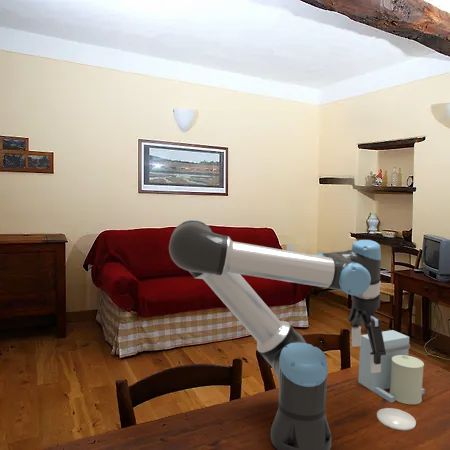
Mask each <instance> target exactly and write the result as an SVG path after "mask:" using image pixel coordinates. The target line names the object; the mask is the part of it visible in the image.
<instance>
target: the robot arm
mask: <svg viewBox="0 0 450 450" xmlns="http://www.w3.org/2000/svg"><path fill="white" fill-rule="evenodd" d="M168 252H169V256H170V258H171V260H172V261H173V263H174V264H175V265H176V266H177V267H178V268H180V269H183V270H185V271H188V272H189V273H190V274H191V276H192V277H193V278H194V279H198V280H203V281H204V282H205V284H207V285H208V287H209V288H210V289H211V290H212V292H214V294H215V295H216V296H217V297H218V298H219V300H221V302H222V303H223V304H224V305H225V306H226V308H227V309H228V310H229V311H230V313H232V314H233V315H234V316H235V318H236V319H237V320H238V321H239V322H240V324H241V325H242V326H243V327H244V328H245V330H247V331H248V333H249V335H251V336H252V337H253V338H254V340H255V341H256V342H257V344H256V350H257V351H258V352H259V353H260V355H261V356H262V357H263V358H264V360H265V361H266V362H267V363H268V364H269V365H270V366H271V368H272V370H273V371H274V374H275V376H276V379H277V381H278V409H277V412H276V414H275V416H274V419H273V422H272V425H271V428H270V441H271V443H272V445H273V447H274V448H275V449H276V450H331V448H332V432H331V430H330V426H329V422H328V419H327V415H326V407H327V405H326V403H327V388H328V387H327V385H328V374H329V373H328V372H329V369H328V359H327V355H326V354H325V352H324V351H322V350H321V349H320V348H319V347H317V346H314V345H312V344H310V343H307V341H306V340H305V338H304V337H303V336H302V335H301V334H300V333H298V331H296V330H295V328H294V327H293V326H292V325H291V324H290V322H288V321H285V320H284V321H282V320H280V319H279V318H278V317H277V315H276V314H275V313H274V312H273V311H272V310H271V308H270V307H269V306H268V305H267V303H265V302H264V301H263V299H262V298H261V297H260V295H258V293H257V292H256V291H255V290H254V289H253V288H252V286H251V285H250V284H249V282H248V281H246V279H245V278H244V277H243V276H249V277H256V278H263V279H270V280H275V281H276V280H277V281H282V282H287V283H294V284H300V285H306V286H307V285H308V286H314V287H320V288H326V289H332V290H337V291H341V292H343V293H345V294H347V295H350V296H351V297H352V299H351V301H352V303H351V304H352V305H351V309H350V312H349V316H348V322H349V323H350V326H351V347H352V348H355V347H360V346H361V335H362V324H363V328H364V330H366V332H367V334H368V337H369V341H370V345H371V348H372V352H371V353H370V354H371V367H370V372H371V373H378V372H381V355H386V351H385V346H384V341H383V335H382V332H383V331H382V321H381V318H379V317H378V318H377V317H376V313H375V312H376V311H377V310H378V309H379V308H380V306H381V299H380V298H381V296H380V294H381V285H382V282H381V265H382V264H381V263H382V262H381V260H382V253H381V252H382V251H381V245H380V244H379V243H378V242H376V241H374V240H372V239H359V240H356V241H354V242H353V243H352V246H351V249H348V250H344V251H343V250H342V251H341V250H340V251H334V252H332V251H331V252H321V253H318V254H309V253H304V252H299V251H291V250H287V249H279V248H274V247H269V246H268V247H267V246H264V245H258V244H252V243H245V242H239V241H233V240H232V238H231V237H230V236H228V235H224V234H219V233H215V232H213V231H212V229H211V227H210V226H208V224H206V223H205V222H202V221H201V220H197V219H194V220H193V219H192V220H191V219H190V220H186V221H184V222H182V223H180V224H178V225H177V226H176V227H175V228H174V229H173V231H172V233H171V236H170V240H169V244H168ZM242 275H243V276H242Z"/></svg>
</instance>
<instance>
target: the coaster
mask: <svg viewBox="0 0 450 450" xmlns="http://www.w3.org/2000/svg"><path fill="white" fill-rule="evenodd" d="M376 419H377V420H378V421H379V422H380V423H381V424H382V425H384V426H385V427H387V428H390V429H393V430H397V431H404V432H405V431H411V430H413V429H415V428H416V424H417V421H416V419H415V418H414V416H412V415H411V414H410V413H408V412H406V411H404V410H402V409H398V408H394V407H393V408H392V407H391V408H390V407H385V408H380V409H378V411H377V412H376Z"/></svg>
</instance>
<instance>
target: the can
mask: <svg viewBox="0 0 450 450" xmlns="http://www.w3.org/2000/svg"><path fill="white" fill-rule="evenodd" d="M424 366H425V363H424V361H423V360H421V359H420V358H417V357H415V356H411V355H408V356H407V355H396V356H393V357H392V367H391V385H390V388H389V392H388V393H389V394H391V395H392V396H394V397H395V401H396V402H399V403H402V404H404V405H411V406H412V405H414V406H415V405H420V404H421V403H422V401H423V398H422V396H423V394H422V388H423V380H424V379H423V378H424Z"/></svg>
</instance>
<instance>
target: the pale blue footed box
mask: <svg viewBox="0 0 450 450" xmlns="http://www.w3.org/2000/svg"><path fill="white" fill-rule="evenodd" d="M382 335H383V341H384V346H385V351H386V355H381V372H378V373H371V372H370V367H371V354H370V353H371V352H372V348H371V345H370V341H369V337H368V334H361V346H359V359H358V360H359V361H358V365H359V366H358V380H357V381H358V384H360V385H362V386H364V387H366V388H367V389H368V390H370V391H372V393H374V394H376V395H378V396H379V397H381V398H382V399H385V400H386V401H388V402H389V403H394V402H395V401H396V400H395V397H394V396H392V395H391V394H389V392H388V391H386V390H387V389H390V385H391V367H392V357H393V356H396V355H407V356H409V352H410V351H409V349H411V344H410V336H408V335H406V334H403V333H401V332H398V331H396V330H393V329H392V330H391V329H389V330H385V331H384V330H383V331H382ZM425 391H426V389H425V388H423V387H422V395H425Z"/></svg>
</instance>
